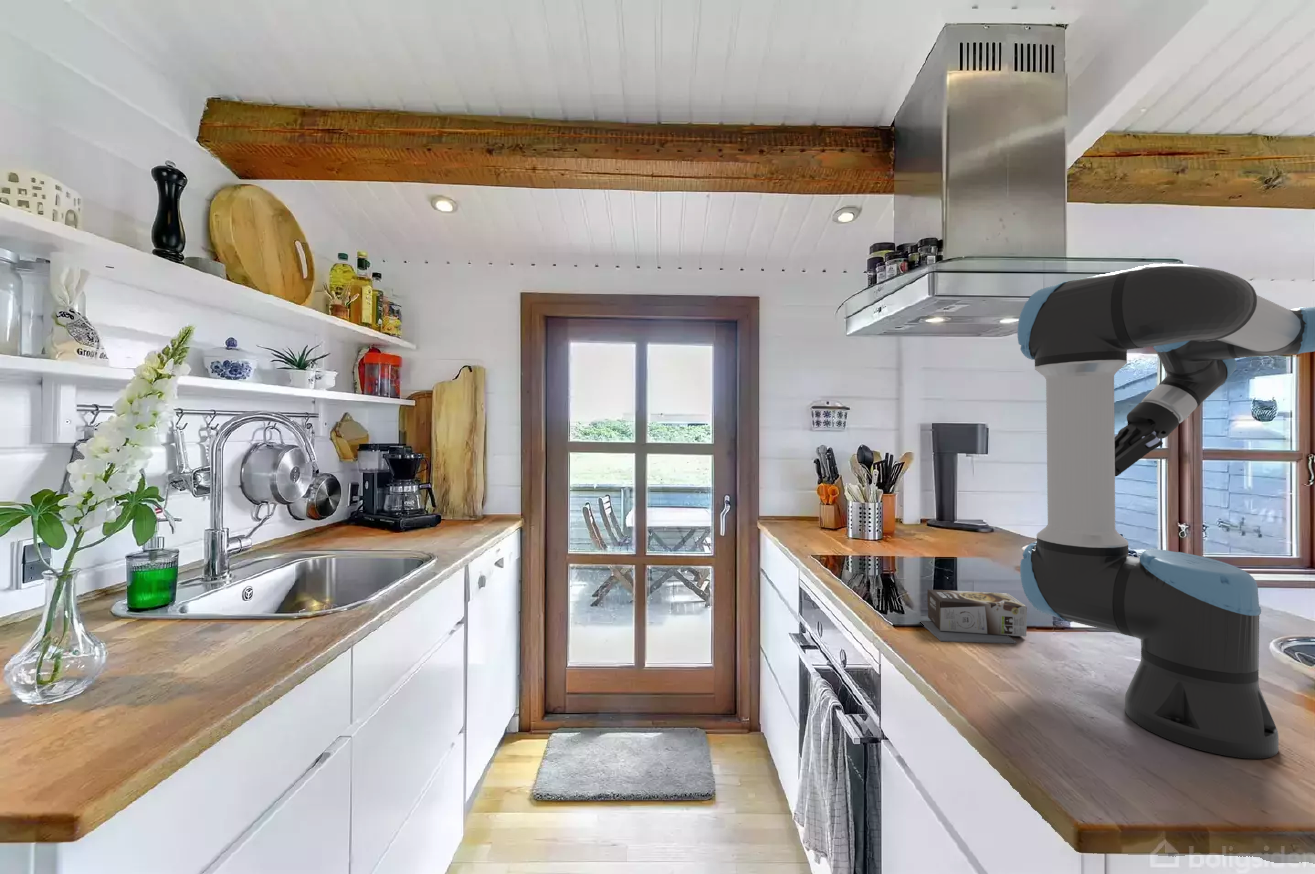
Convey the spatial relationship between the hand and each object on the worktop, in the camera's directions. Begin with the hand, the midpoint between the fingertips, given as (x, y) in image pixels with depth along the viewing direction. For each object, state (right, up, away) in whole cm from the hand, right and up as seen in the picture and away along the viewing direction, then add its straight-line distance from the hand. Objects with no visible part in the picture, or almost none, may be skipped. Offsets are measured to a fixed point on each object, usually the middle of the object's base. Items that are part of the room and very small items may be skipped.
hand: (1072, 496), depth 113 cm
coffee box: (-10, -24, +1) cm, 26 cm away
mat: (-21, -28, +1) cm, 35 cm away
